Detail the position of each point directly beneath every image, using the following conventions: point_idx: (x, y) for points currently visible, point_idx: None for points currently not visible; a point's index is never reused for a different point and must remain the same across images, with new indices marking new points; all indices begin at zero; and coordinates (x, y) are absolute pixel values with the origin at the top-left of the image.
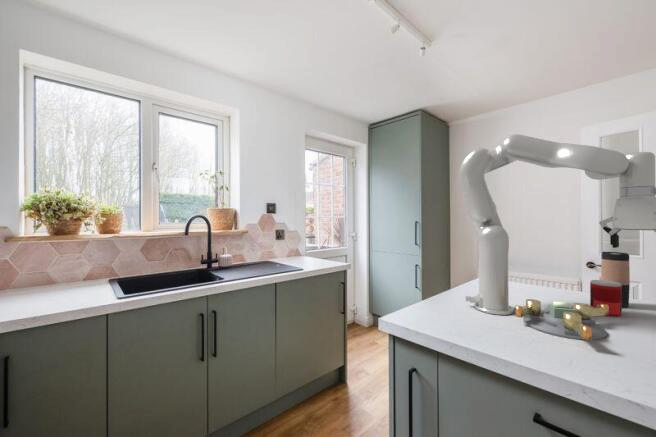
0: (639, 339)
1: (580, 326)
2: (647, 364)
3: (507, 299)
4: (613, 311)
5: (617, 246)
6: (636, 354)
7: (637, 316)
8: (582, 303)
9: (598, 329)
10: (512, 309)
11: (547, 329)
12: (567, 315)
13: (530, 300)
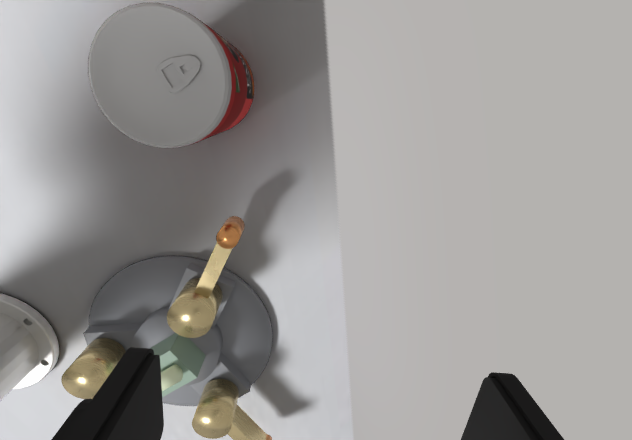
0: (325, 292)
1: None
2: (347, 409)
3: (8, 369)
4: (236, 123)
5: (158, 394)
6: (330, 381)
7: (291, 37)
8: (184, 302)
9: (252, 316)
10: (43, 333)
11: (182, 398)
12: (208, 436)
13: (76, 384)
